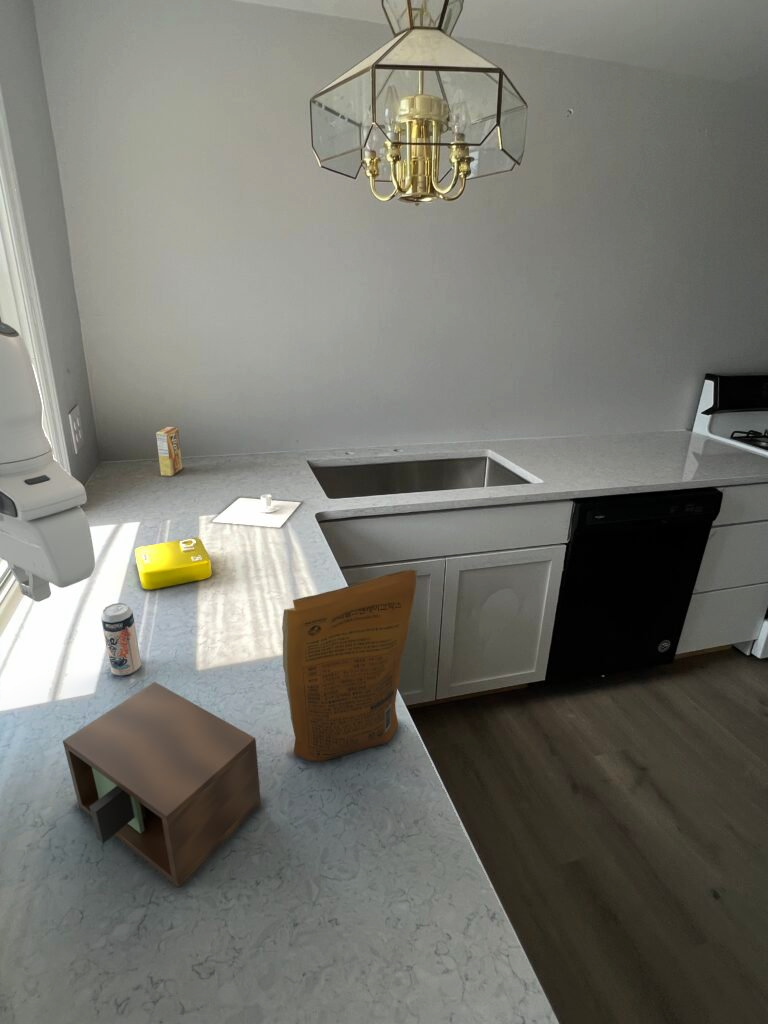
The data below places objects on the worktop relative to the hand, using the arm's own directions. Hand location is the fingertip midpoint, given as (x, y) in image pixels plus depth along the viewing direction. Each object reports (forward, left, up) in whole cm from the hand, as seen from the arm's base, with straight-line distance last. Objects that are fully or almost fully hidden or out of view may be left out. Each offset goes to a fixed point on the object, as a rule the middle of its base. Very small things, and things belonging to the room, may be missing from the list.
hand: (36, 596), depth 63 cm
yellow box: (+5, +61, -29) cm, 68 cm away
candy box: (-4, +138, -29) cm, 141 cm away
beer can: (+1, +25, -29) cm, 39 cm away
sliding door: (+5, -8, -28) cm, 29 cm away
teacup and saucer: (+25, +95, -29) cm, 103 cm away
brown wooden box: (+12, -5, -29) cm, 32 cm away
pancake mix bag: (+36, 0, -29) cm, 46 cm away
